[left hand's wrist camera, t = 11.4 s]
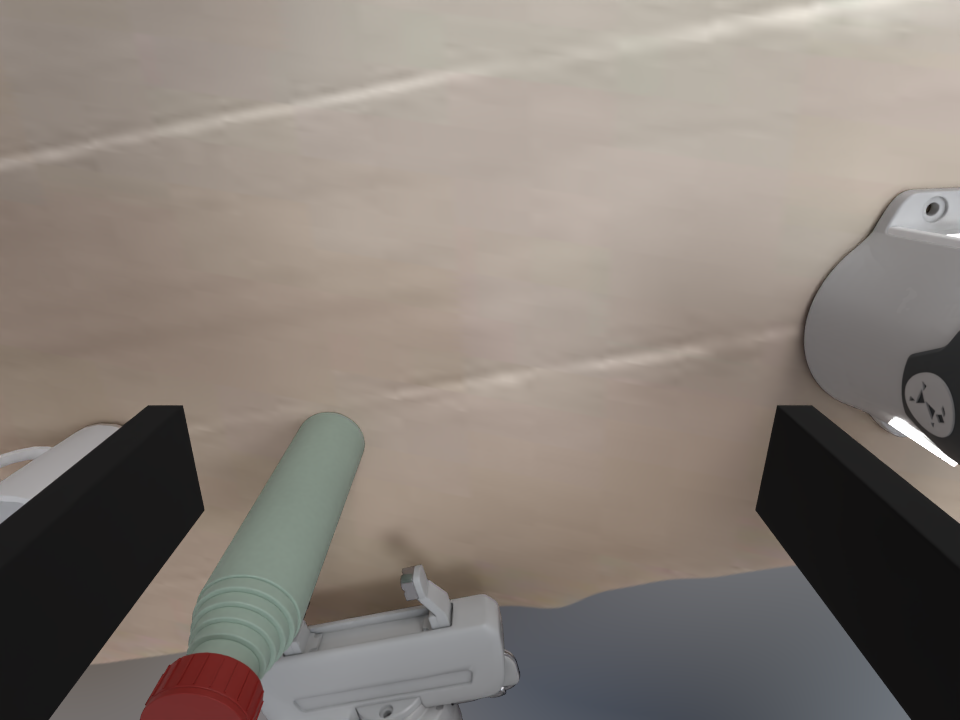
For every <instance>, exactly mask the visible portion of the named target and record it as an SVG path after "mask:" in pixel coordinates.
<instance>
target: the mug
mask: <svg viewBox="0 0 960 720" xmlns="http://www.w3.org/2000/svg"><path fill="white" fill-rule="evenodd" d="M121 427H122V426H121V425H118V424H104V423H100V424H95V425H90V426H86V427H84V428H82V429H81V430H79V431H77V432H75V433H74V434H72V435H71V436H69V437H68V438H66V439H65V440H63V441H62V442H60V443H59V444H57V445H56V446H54V447H49V446H37V447H30V448H24V449H19V450H14V451H11V452H8V453H4V454H1V455H0V468H1V467H4V466H7V465H10V464H12V463H16V462H21V461H25V460H32V459H34V460H33V461H31V462H30V463H28V464H27V465H25V466H24V467H22V468H21V469H19V470H18V471H16V472H15V473H13V474H12V475H10V476H9V477H7V478H6V479H4V480H2V481H1V482H0V524H1V523H2V522H3V521H4V520H6V519H7V518H8V517H9V516H11V515H12V514H13V513H14V512H16V511H17V510H18V509H19V508H21V507H22V506H23V505H24V504H26V503H27V502H28V501H29V500H31V499H32V498H33V497H34V496H36V495H37V494H38V493H39V492H41V491H42V490H43V489H44V488H46V487H47V486H48V485H49V484H51V483H52V482H53V481H54V480H56V479H57V478H58V477H59V476H61V475H62V474H63V473H64V472H66V471H67V470H68V469H69V468H71V467H72V466H73V465H74V464H76V463H77V462H78V461H79V460H81V459H82V458H83V457H84V456H86V455H87V454H88V453H89V452H91V451H92V450H93V449H94V448H96V447H97V446H98V445H99V444H101V443H102V442H103V441H104V440H106V439H107V438H108V437H109V436H111V435H112V434H113V433H114V432H116V431H117V430H118V429H119V428H121Z"/></svg>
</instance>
